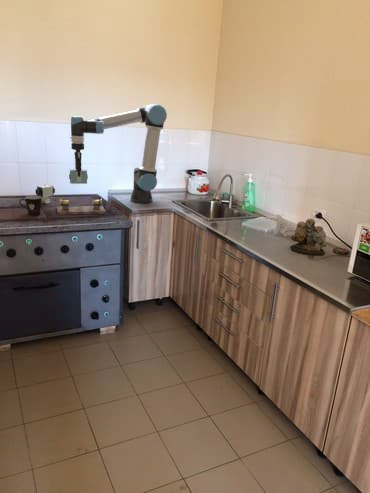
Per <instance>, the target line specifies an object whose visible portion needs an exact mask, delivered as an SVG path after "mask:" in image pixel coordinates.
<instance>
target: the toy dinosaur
mask: <svg viewBox="0 0 370 493" xmlns="http://www.w3.org/2000/svg"><path fill="white" fill-rule="evenodd" d="M265 219H268V220H272V221H275V222H276V224H275V227H274V230H273V234H274V236H279V234H281V230H282V236H283V237H287V236H288V235H289V233H290V232H291V233H295V230H296V228H297V226H295V224H293V223H290V222H288V220H286V219H285V218H283V217H282V215H281V214H279V213H277V214H275V215H272V216H265Z"/></svg>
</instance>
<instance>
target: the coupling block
mask: <svg viewBox="0 0 370 493" xmlns="http://www.w3.org/2000/svg"><path fill="white" fill-rule="evenodd" d="M76 170H77V169H71V168H70V169H69V173H68V177H69V184H71V185H73V184H75V185H78V184H79V185H80V184H81V185H82V184H85V185H86V184H88V178H89V176H88V170H87V169H82V170H81V182H77V171H76Z"/></svg>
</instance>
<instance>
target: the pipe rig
mask: <svg viewBox="0 0 370 493" xmlns="http://www.w3.org/2000/svg"><path fill="white" fill-rule="evenodd" d="M58 201H59V207H62V210H69V207H70V200H68V199H66V200H65V199H64V200H63V199H61V198H59V200H58ZM92 206H93V209H94V210H100V206H103V199H102V198H99V199H92Z"/></svg>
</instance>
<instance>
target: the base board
mask: <svg viewBox="0 0 370 493" xmlns="http://www.w3.org/2000/svg"><path fill="white" fill-rule="evenodd" d="M55 209H56V213H57V215H60V216H61V215H62V216H63V215H64V216H65V215H101V214H102V215H105V214H107V210H106V209H105V208H104V206H103V205H102V206H100V210H94V209H93V205H92V206H90V205H89V206H88V205H87V206H69V210H62V207H60V206H56V208H55Z"/></svg>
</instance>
